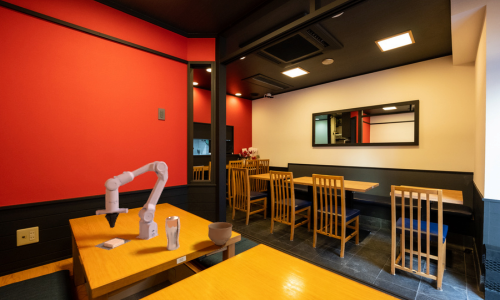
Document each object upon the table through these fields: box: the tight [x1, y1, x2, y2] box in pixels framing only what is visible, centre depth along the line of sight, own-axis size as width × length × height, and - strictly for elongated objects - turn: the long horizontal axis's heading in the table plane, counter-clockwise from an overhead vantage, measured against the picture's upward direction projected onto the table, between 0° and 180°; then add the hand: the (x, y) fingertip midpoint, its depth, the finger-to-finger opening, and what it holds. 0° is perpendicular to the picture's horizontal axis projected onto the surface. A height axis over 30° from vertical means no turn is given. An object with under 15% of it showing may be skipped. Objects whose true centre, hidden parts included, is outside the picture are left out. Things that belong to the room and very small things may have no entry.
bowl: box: [207, 221, 233, 246], centre depth 110 cm, size 13×13×10 cm
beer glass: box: [164, 215, 181, 251], centre depth 107 cm, size 7×7×15 cm
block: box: [104, 237, 124, 249], centre depth 110 cm, size 2×6×7 cm
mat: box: [94, 237, 132, 251], centre depth 112 cm, size 12×12×1 cm
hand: (112, 227), depth 111 cm, fingers closed
